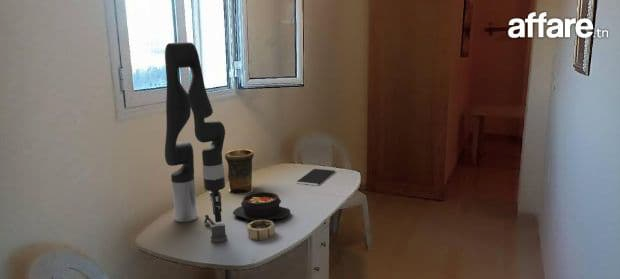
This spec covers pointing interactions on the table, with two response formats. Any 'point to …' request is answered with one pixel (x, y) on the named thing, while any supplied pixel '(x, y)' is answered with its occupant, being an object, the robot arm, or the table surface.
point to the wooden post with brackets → (208, 220)
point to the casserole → (261, 207)
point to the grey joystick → (218, 233)
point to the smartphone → (315, 177)
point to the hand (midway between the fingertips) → (217, 217)
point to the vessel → (240, 171)
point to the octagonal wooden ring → (260, 229)
